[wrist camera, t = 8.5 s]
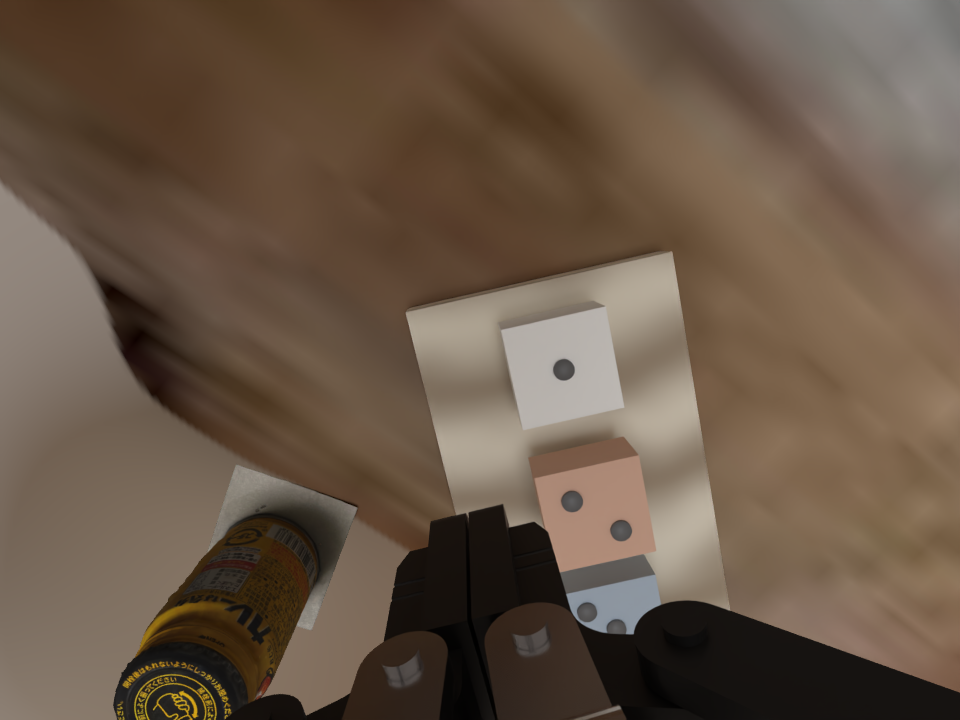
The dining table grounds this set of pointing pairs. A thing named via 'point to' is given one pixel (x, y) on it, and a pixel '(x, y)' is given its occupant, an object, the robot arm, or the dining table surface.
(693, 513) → the board
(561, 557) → the tile
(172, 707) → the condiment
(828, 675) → the robot arm
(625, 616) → the grey block
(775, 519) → the dining table surface
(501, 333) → the light grey square block
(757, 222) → the dining table surface
